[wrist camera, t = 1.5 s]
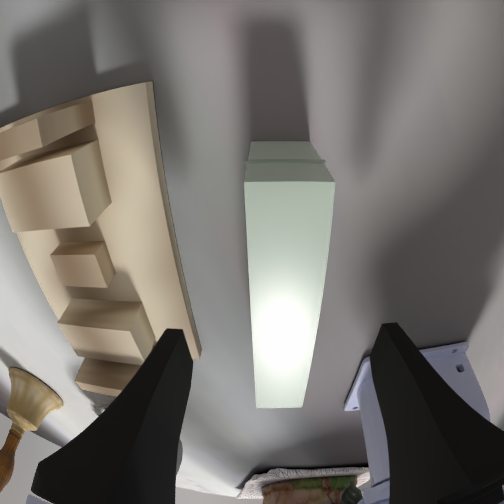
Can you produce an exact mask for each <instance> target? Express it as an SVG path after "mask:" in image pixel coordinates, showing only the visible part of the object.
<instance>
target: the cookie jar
mask: <svg viewBox="0 0 504 504" xmlns="http://www.w3.org/2000/svg"><path fill="white" fill-rule="evenodd" d="M368 480H370V472H369V467H367V468H365V467H361V468H358V467H347V468H328V469H282V468H276V469H272V470H270V471H269V472H268V473H267V474H266V473H264V474H261V475H256V474H254V475H253V476H252V478H251V479H250V480H248V481H247V483H245V486H244V488H243V489H242V490H241V491H240V493H239V494H238V496H237V497H236V498H237V499H246V498H264V499H263V504H358V502H359V501H360V500H361V499H363V497H362V494H361V491H360V490H359V489H358V488H357V487H358V486H360V485H362V484H364V483H366V482H367V481H368Z"/></svg>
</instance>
